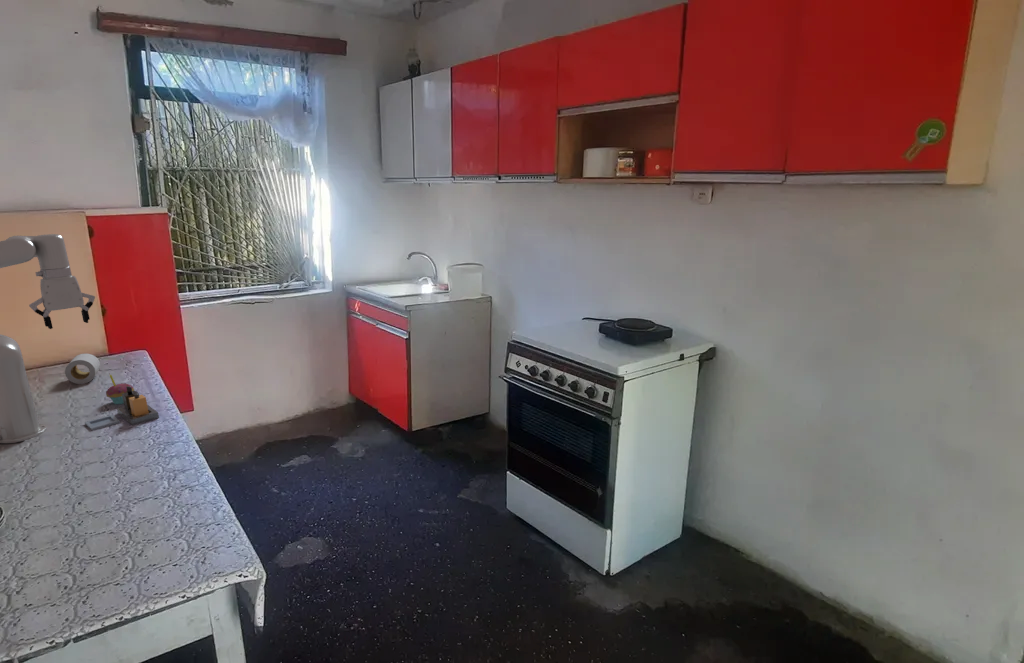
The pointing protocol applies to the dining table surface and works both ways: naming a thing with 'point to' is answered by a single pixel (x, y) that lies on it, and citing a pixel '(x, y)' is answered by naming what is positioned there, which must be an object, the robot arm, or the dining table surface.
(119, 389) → the cupcake
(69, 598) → the dining table surface
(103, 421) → the tray
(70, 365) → the toilet paper
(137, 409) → the plug
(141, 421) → the grey socket base
